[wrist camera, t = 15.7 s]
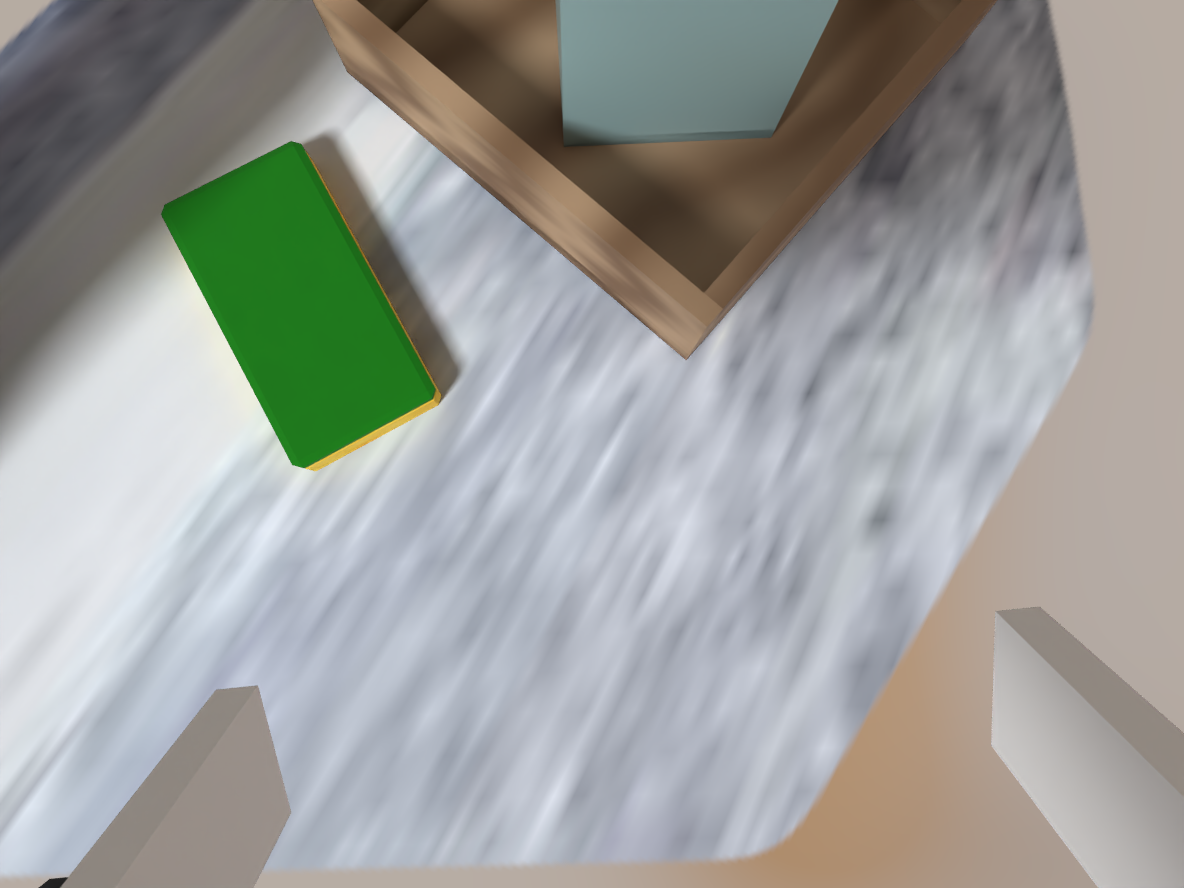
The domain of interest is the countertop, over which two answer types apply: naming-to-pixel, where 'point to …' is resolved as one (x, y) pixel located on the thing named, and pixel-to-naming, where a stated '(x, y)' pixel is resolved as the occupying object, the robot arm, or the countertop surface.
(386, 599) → the countertop surface
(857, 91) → the big walnut crate
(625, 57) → the small teal crate
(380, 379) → the dish sponge
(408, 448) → the countertop surface
